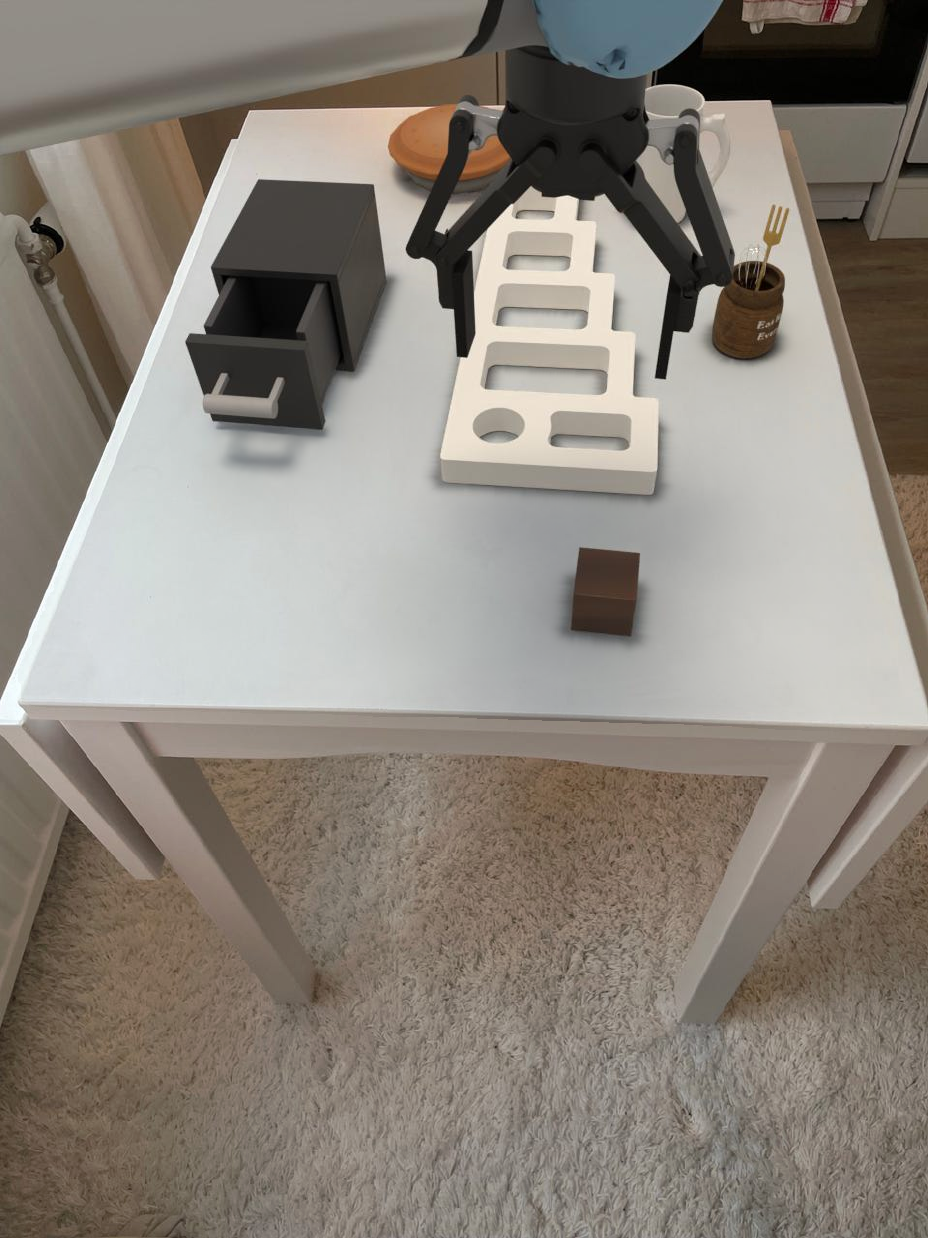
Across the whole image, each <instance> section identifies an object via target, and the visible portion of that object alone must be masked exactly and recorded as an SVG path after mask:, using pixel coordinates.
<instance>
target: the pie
mask: <svg viewBox="0 0 928 1238" xmlns="http://www.w3.org/2000/svg"><path fill="white" fill-rule="evenodd" d="M457 105H458V103H451V104H450V103H449V104H443V105H437V106H433V107H429V108H427V109H424V110H422V111H419V112H417V113H414V114H412V115H409V116H408V117H407V118H406V119H404V120H403V121H402V122H401V123H399V125H398V126H397V127H396V128H395V129H394V130H393V131H392V133H391V134H390V135H389V139H388V144H387V148H388V153H389V156H390V157H391V158H392V159H393V160H394V161H395V162H396V164H398V165H399V166H400V167H401V168H402V169H404V170H405V172H406V174H407V175H408V176H409V177H410V178H411V180H412V181H413V182H414V183H415V184H416V185H417V186H419V187H421V188H423V189H425V190H427V191H430V192H431V189H432V187H433V185H434V183H435V181H436V178H437V176H438V174H439V172H440V169H441V167H442V165H443V163H444V160H445V158H446V156H447V154H448V136H449V123H450V120H451V118H452V116H453V113H454V111H455V109H456V107H457ZM479 106H480V107H485V108H489V107H487V106H484V105H483V106H482V105H479ZM510 159H511V157H510V156H509V154H508V153H507V151H506V150H505V149H504V147H503V146H502V144H501V143H500V141H499V139H498V136H490V137H489V138H488V139H487V140H486V142H485V145H484V147H483V148H482V149H480V150H476V151H471V153H470V156H469V158H468V160H467V163H466V165H465V167H464V170H463V172H462V174H461V176H460V178H459V180H458V183H457V185H456V187H455V189H454V191H453V193H452V195H460V194H469V193H473V192H477V191H480V190H483V189H486V188H487V187H488V186H489V185H490V184H491V182H492V181H493V180H494V179H495V178H496V177H497V176H498V175H499V174H500V172H501V171H502V170H503V169H504V168H505V166H506V165H507V163H508V162H509V160H510Z"/></svg>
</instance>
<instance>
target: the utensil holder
mask: <svg viewBox="0 0 928 1238" xmlns="http://www.w3.org/2000/svg"><path fill="white" fill-rule="evenodd" d="M783 209H784V207H783V206H782V205H780V206H779V207H778V209H777V212H776V211H775V210H776V204H772V205H771V207H770V212H769V215H768V219H767V222H766V225H765V228H764V232H763V236H762V241H763V242H764V243H765V244H766V248H764V247H763V246H762V247H761V246H760V245H759V244H757V246H754V245H753V244H750V245H749V246H748V247H746V248H744V249H743V250H742V251H741V252H740V257H739V260H740V261H739V263H736V264H734V269H733V279H732V282H731V283H730V284H729V285H727V286H725V287H722V288H721V290H720V293H719V296H718V298H717V302H716V308H715V313H714V316H713V322H712V328H711V338H712V342H713V345H714V346H715V347H716V349H718V350H719V352H721V353H723V354H725V355H727V356H728V357H733V358H735V359H753V358H758V357H760V356H763V355H765V354H767V352H768V351H770V349H771V348H772V347H773V345H774V343H775V340H776V338H777V334H778V330H779V326H780V323H781V319H782V315H783V309H784V305H785V304H784V302H785V301H784V300H785V299H784V292H785V288H786V277H785V274H784V272H783V271H782V270H781V269H780V268H778V266H776V265H774V264H771V263H770V262H768V261H769V257H770V254H771V250H772V247H773V246H777V245H779V243H781V240H782V236H783V234H784V230H785V226H786V223H787V219H788V216H789V213H790V208H789V207H786V208H785V210H784V213H783V217H782V220H781V224H780V227H779V231H778V232H777V229H778V225H779V222H780V219H781V215H782V211H783ZM775 212H776V216H775V220H774V222H773V218H774V214H775ZM772 222H773V227H772V230H770V229H771V225H772ZM751 246H752V247H751ZM761 249H763V250H764V251H765V253H764V251H762V250H761ZM745 250H747V252H746V253H745V254H744V255H743V252H744V251H745ZM752 250H753V251H752ZM755 250H756V254H757V256H756V259H757V260H752V257H753V254H754V252H755ZM751 251H752V253H751V256H750V258H749V260H748V258H745V256H746V257H748V256H749V255H748V254H749V252H751ZM759 252H761V253H762V254H763V255H764V258H763V261H761V260H760V256H759ZM742 255H743V256H742ZM744 258H745V259H746V260H745V261H742V260H743V259H744Z"/></svg>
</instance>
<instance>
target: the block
mask: <svg viewBox="0 0 928 1238" xmlns="http://www.w3.org/2000/svg"><path fill="white" fill-rule="evenodd" d="M577 554H578V555H577V562H576V568H575V569H576V570H575V578H574V579H575V580H574V587H573V594H572V607H571V623H570V631H574V632H584V633H593V634H602V635H603V634H604V635H612V636H613V635H614V636H620V637H631V636H632V631H633V626H634V619H635V612H636V607H637V601H638V587H639V573H640V561H641V553H640V552H633V551H625V550H614V549H613V550H612V549H604V548H603V549H602V548H593V547H592V548H591V547H583V546H582V547H581V546H579V548H578V553H577Z"/></svg>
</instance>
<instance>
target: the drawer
mask: <svg viewBox="0 0 928 1238" xmlns="http://www.w3.org/2000/svg"><path fill="white" fill-rule="evenodd" d="M203 329H204V332H205V333H194V332H189V334H188V335H187V337H186V339H185V340H184V342H185V346H186V349H187V352H188V354H189V358H190V360H191V363H192V366H193V369H194V372H195V374H196V377H197V381H198V383H199V386H200V389H201V392H202V395H203V399H202V410H203V411H204V413H205V414H209V415H210V418H211V421H212V422H215V423H216V422H217V423H218V422H219V423H229V424H243V425H254V426H268V427H279V428H292V429H293V428H294V429H305V430H317V431H323V430H324V427H325V424H326V418H325V412H324V406H323V404H324V402H325V400H326V396H327V394H328V391H329V388H330V386H331V383H332V380H333V377H334V375H335V372H336V371H337V370H336V367H337V365H338V362H339V359H340V357H341V354H342V351H343V349H342V344H341V339H340V333H339V328H338V323H337V317H336V312H335V307H334V301H333V296H332V291H331V285H330V281H315V280H298V279H281V278H263V277H246V276H229V277H228V279H227V281H226V283H225V285H224V287H223V289H222V291H221V293H220V295H219V294H218V297H217V298H216V300H215V302H214V304H213V306H212V308H211V310H210V311H209V314H208V316H207V318H206V320H205V322H204V323H203Z"/></svg>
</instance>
